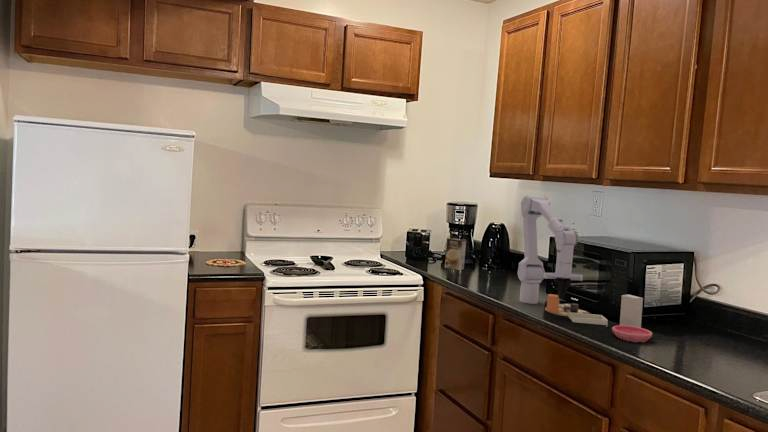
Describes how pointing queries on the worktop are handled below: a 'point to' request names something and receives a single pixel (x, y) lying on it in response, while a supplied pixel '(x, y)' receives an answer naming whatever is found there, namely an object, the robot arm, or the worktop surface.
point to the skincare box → (631, 310)
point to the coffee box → (455, 253)
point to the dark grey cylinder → (572, 307)
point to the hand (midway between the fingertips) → (560, 298)
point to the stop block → (552, 303)
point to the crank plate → (564, 311)
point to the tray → (588, 318)
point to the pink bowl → (632, 333)
